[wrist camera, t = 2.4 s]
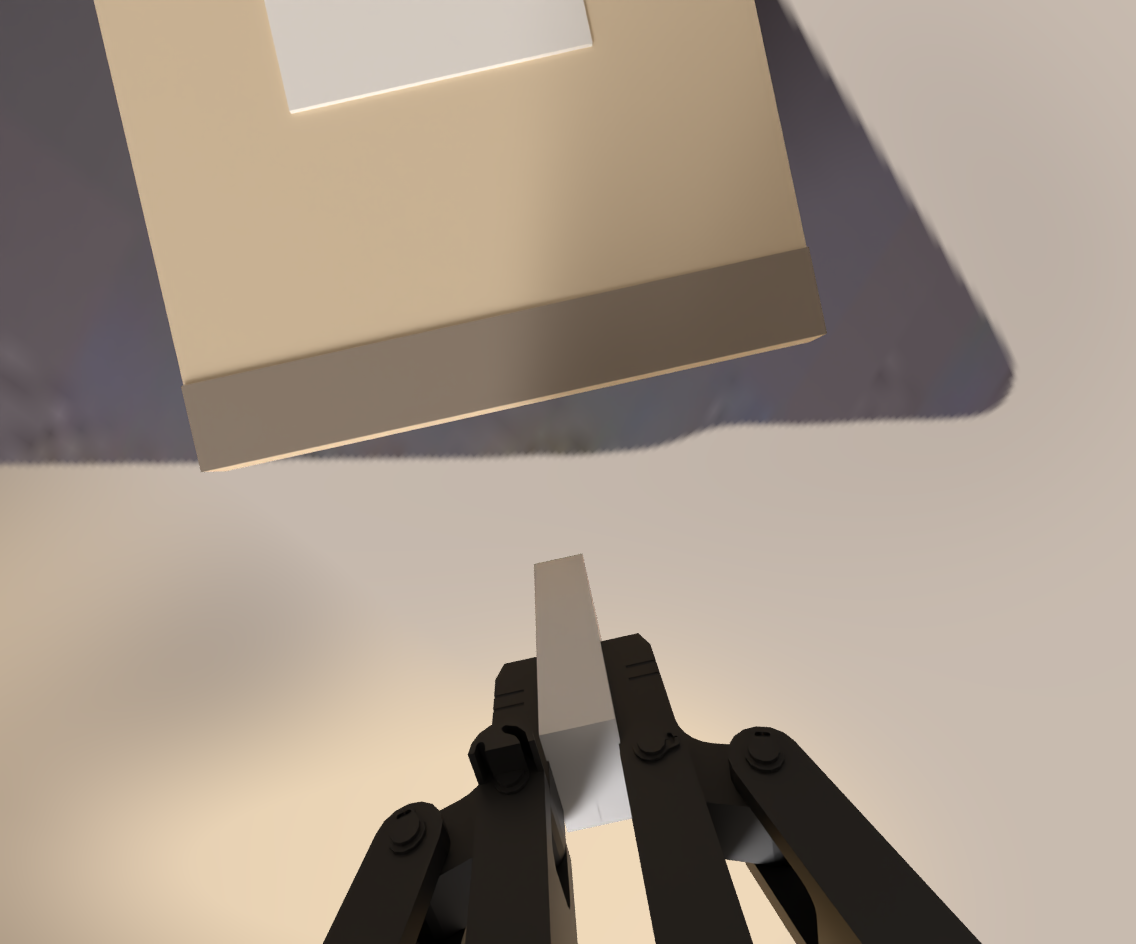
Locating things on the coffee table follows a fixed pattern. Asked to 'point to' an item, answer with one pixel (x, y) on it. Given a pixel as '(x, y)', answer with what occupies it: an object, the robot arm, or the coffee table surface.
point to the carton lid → (451, 205)
